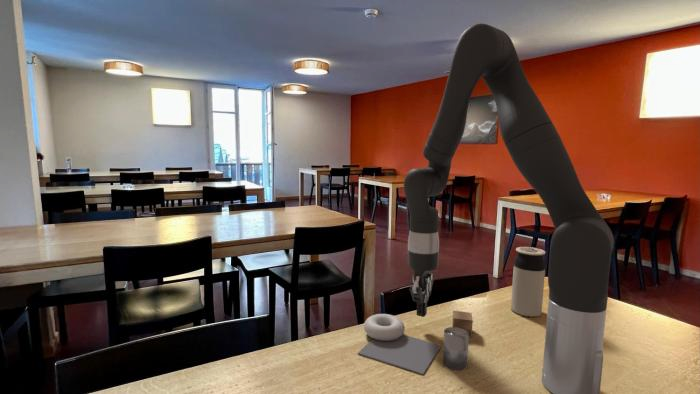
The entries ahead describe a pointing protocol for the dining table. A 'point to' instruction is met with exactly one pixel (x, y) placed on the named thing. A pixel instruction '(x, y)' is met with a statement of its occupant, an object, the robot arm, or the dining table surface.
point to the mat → (402, 353)
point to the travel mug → (528, 281)
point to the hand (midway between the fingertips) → (421, 315)
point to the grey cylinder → (455, 348)
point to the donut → (384, 327)
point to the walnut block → (463, 321)
